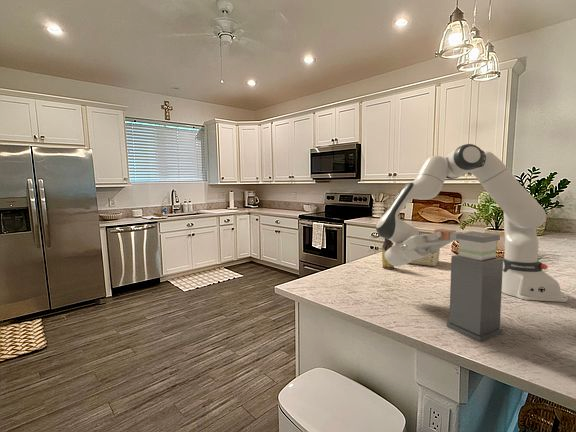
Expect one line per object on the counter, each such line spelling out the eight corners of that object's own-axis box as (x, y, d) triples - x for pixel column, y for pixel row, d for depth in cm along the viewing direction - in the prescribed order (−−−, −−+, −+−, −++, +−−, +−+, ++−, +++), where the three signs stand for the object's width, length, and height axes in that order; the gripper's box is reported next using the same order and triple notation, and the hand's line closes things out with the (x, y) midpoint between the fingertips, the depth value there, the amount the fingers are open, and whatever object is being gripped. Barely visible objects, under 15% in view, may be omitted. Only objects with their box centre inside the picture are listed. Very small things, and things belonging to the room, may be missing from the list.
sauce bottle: (384, 265, 173) (385, 231, 171) (395, 267, 169) (396, 232, 167) (380, 268, 168) (380, 233, 166) (391, 270, 164) (391, 234, 162)
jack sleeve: (502, 333, 95) (506, 258, 92) (480, 342, 90) (483, 263, 87) (468, 319, 105) (470, 251, 102) (446, 326, 100) (449, 255, 97)
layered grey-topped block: (496, 309, 94) (500, 234, 92) (479, 314, 91) (483, 237, 88) (444, 291, 111) (446, 227, 108) (428, 295, 107) (429, 229, 105)
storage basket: (392, 262, 181) (392, 237, 179) (400, 256, 194) (400, 233, 192) (436, 267, 167) (437, 241, 165) (441, 261, 180) (442, 236, 178)
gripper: (394, 241, 112) (421, 227, 100) (432, 236, 121) (461, 222, 109) (400, 257, 109) (429, 244, 98) (439, 250, 118) (469, 238, 107)
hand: (446, 232), depth 104 cm, fingers closed on layered grey-topped block, 4 cm apart
